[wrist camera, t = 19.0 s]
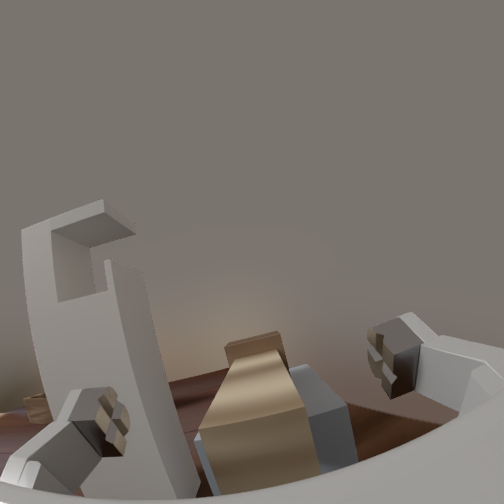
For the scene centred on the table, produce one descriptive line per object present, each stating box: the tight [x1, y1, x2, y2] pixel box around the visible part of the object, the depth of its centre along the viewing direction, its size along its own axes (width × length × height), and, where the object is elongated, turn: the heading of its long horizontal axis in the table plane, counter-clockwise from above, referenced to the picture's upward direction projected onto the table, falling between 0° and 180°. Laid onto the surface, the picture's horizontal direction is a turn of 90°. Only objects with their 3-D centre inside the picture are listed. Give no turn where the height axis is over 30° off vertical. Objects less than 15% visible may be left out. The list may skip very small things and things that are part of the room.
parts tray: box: [23, 393, 54, 424], centre depth 81 cm, size 24×20×8 cm
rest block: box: [194, 364, 359, 496], centre depth 20 cm, size 14×8×15 cm, turn 179°
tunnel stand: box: [22, 199, 201, 500], centre depth 31 cm, size 10×12×36 cm
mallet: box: [198, 331, 322, 495], centre depth 16 cm, size 18×4×4 cm, turn 179°
